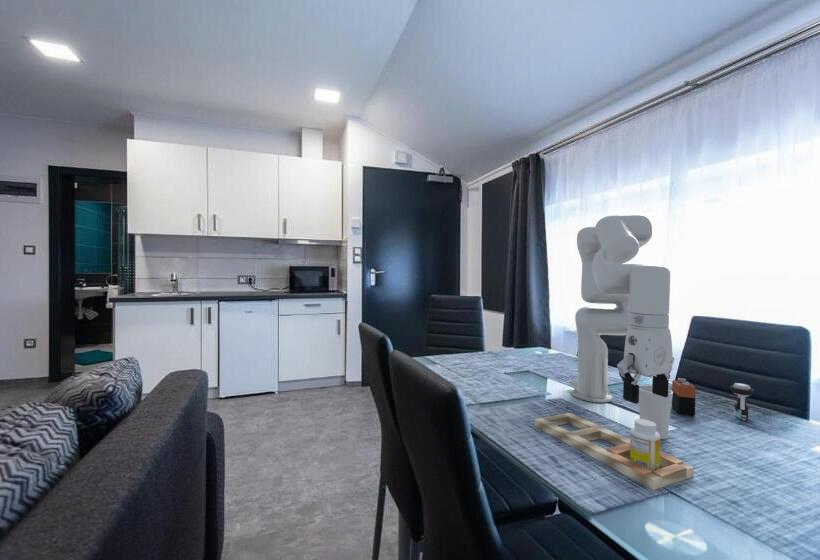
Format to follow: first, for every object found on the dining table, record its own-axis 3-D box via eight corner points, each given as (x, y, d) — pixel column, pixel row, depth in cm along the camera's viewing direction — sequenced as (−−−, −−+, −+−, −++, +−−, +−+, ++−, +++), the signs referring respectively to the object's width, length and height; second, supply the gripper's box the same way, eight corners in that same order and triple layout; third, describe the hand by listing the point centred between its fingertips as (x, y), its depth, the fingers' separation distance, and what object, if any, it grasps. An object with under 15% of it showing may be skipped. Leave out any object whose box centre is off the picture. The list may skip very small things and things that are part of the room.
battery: (687, 409, 117) (688, 378, 117) (695, 416, 111) (696, 384, 111) (671, 407, 119) (671, 376, 118) (678, 414, 112) (679, 382, 112)
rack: (534, 426, 102) (535, 418, 102) (569, 419, 108) (569, 411, 108) (653, 490, 72) (653, 478, 72) (693, 476, 77) (693, 465, 77)
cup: (661, 442, 93) (662, 396, 93) (630, 430, 100) (630, 387, 100) (678, 436, 97) (679, 391, 96) (647, 425, 104) (648, 383, 103)
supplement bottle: (651, 463, 83) (652, 418, 83) (665, 476, 77) (666, 428, 77) (625, 461, 84) (626, 416, 83) (636, 474, 78) (637, 426, 78)
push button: (756, 424, 106) (757, 389, 105) (732, 419, 109) (732, 386, 108) (751, 416, 111) (751, 384, 111) (728, 412, 114) (728, 381, 114)
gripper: (638, 326, 73) (635, 410, 74) (690, 321, 80) (688, 398, 81) (604, 321, 80) (603, 398, 81) (656, 317, 87) (654, 388, 87)
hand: (645, 398), depth 81 cm, fingers open, 9 cm apart
